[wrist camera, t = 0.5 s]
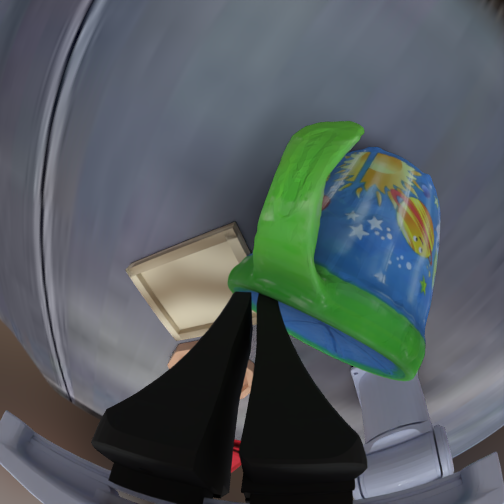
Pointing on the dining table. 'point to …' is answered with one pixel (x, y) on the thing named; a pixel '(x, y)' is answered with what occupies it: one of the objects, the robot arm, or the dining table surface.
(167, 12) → the dining table surface
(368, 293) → the snack cup
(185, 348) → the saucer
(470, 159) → the dining table surface
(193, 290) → the tray
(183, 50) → the dining table surface
